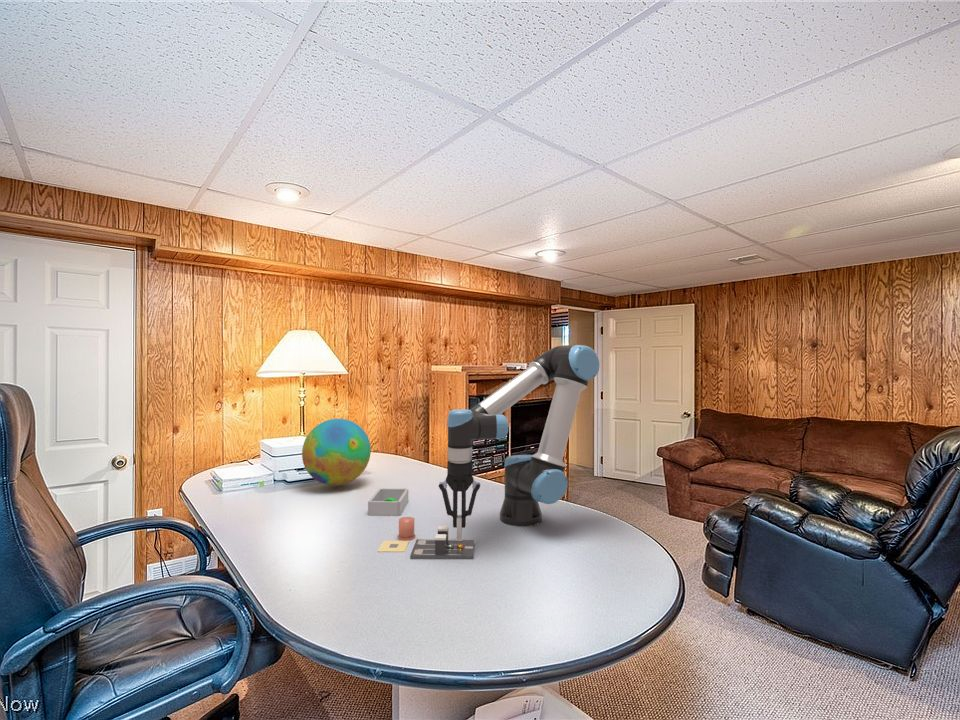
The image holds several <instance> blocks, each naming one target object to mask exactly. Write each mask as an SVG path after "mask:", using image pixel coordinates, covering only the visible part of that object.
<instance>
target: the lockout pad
mask: <svg viewBox="0 0 960 720" xmlns="http://www.w3.org/2000/svg"><path fill="white" fill-rule="evenodd" d="M409 543H410V540H407V541H403V540H383V541H382V543H381V545H380V547H379V548H378V550H377V553H405V552H406V550H407V548H408V545H409Z"/></svg>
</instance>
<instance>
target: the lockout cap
mask: <svg viewBox="0 0 960 720" xmlns="http://www.w3.org/2000/svg"><path fill="white" fill-rule="evenodd" d="M415 538H416V534H415V518H414V517H411V516H404V517H400V518H399V519H398V535H397V540H398V541H413V540H414V539H415Z"/></svg>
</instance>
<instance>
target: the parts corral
mask: <svg viewBox="0 0 960 720" xmlns="http://www.w3.org/2000/svg"><path fill="white" fill-rule="evenodd" d="M388 498H393V499H395V500H396V501H385V500H386V499H388ZM408 503H409V488H389V487H388V488H387V487H386V488H378V489H377V490H376V492H375V493H374V494H373V495H372V496H371V497H370V499H369V500H368V501H367V515H368V516H370V517H371V516H375V517H376V516H377V517H383V516H385V517H386V516H389V517H395V516H396V517H398V516H401V515H402V513H403V512H404V510H405V508H406V506H407V505H408Z"/></svg>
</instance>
